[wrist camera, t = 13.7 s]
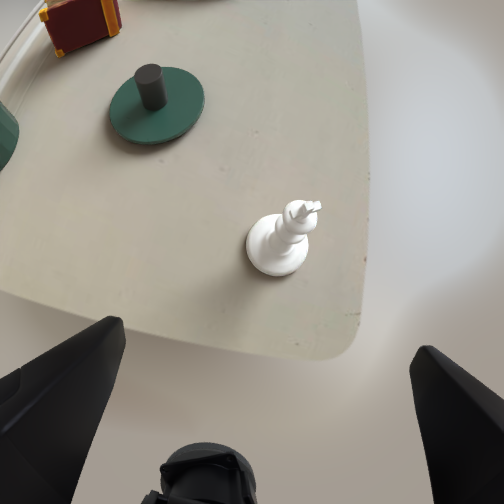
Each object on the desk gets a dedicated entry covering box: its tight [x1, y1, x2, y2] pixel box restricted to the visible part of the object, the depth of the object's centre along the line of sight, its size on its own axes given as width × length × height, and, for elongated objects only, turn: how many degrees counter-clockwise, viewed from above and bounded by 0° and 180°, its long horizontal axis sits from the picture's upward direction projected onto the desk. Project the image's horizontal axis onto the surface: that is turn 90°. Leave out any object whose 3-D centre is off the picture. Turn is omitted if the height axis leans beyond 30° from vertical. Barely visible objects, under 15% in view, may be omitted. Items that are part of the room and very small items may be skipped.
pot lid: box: [110, 64, 204, 144], centre depth 25 cm, size 9×9×5 cm
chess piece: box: [246, 200, 322, 276], centre depth 21 cm, size 5×5×10 cm
